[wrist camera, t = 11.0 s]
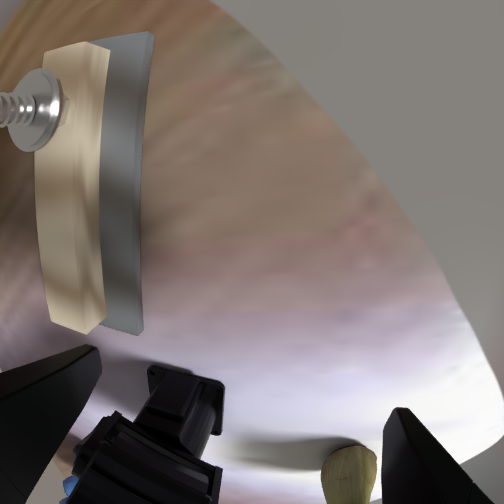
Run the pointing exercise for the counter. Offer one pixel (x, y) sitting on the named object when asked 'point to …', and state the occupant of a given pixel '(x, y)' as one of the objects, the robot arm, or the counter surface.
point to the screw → (34, 109)
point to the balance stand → (95, 185)
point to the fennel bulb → (349, 475)
